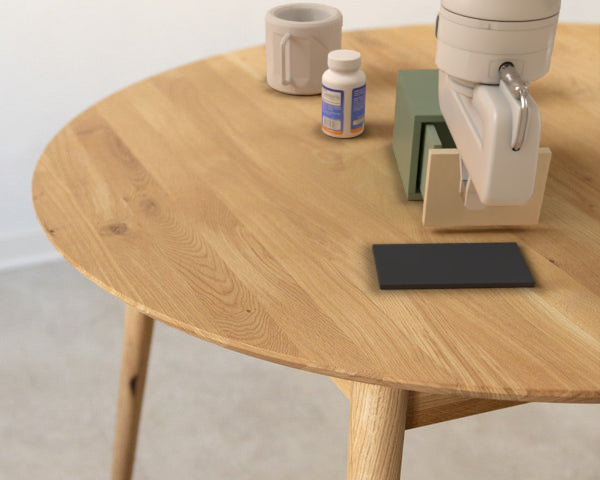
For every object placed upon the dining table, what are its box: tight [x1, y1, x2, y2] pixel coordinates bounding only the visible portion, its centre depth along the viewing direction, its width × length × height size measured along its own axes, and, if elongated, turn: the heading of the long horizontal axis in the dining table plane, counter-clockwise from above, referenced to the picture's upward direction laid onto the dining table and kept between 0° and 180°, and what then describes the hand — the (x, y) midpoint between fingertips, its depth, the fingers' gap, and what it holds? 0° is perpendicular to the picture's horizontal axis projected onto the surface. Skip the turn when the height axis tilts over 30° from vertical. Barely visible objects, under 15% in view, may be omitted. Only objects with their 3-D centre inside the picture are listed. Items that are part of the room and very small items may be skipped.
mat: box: [371, 241, 536, 290], centre depth 73 cm, size 14×7×1 cm, turn 91°
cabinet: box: [391, 68, 445, 201], centre depth 87 cm, size 14×13×10 cm
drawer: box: [417, 122, 553, 227], centre depth 80 cm, size 14×11×8 cm
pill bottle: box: [321, 48, 367, 139], centre depth 96 cm, size 5×5×10 cm
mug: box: [264, 2, 344, 96], centre depth 109 cm, size 14×11×10 cm
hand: (471, 202), depth 68 cm, fingers closed
